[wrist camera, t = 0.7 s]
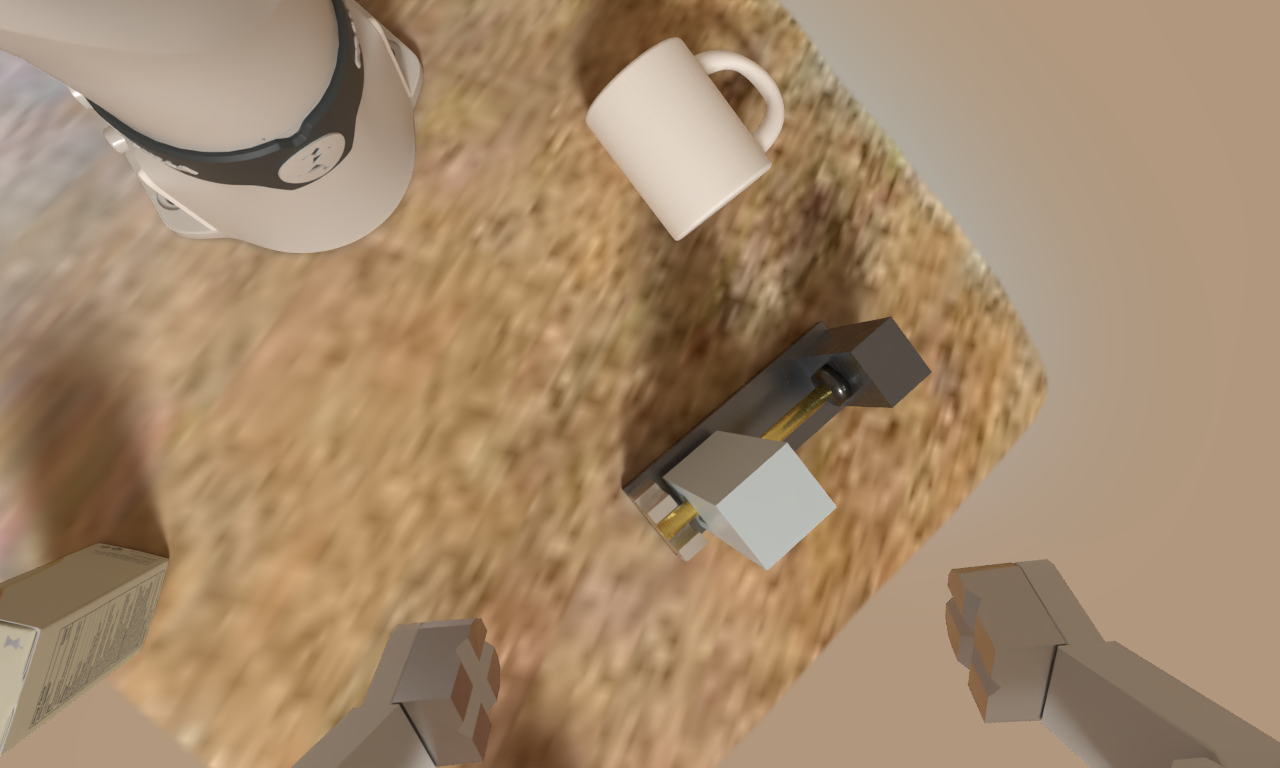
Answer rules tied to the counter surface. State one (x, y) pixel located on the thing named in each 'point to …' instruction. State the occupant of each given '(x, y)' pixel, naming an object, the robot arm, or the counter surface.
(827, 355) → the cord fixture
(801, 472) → the box sleeve
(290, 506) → the counter surface
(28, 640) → the skincare box
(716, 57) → the mug
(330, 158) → the robot arm
